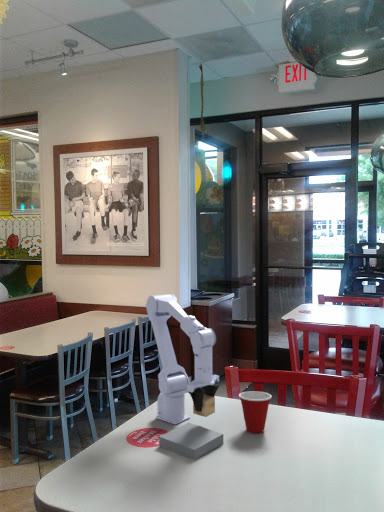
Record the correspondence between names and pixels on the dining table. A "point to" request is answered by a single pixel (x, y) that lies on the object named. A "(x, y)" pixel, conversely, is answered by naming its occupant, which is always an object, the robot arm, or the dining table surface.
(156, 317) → the robot arm
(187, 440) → the slate base
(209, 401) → the oak cube
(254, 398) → the plastic cup
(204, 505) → the dining table surface
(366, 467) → the dining table surface
